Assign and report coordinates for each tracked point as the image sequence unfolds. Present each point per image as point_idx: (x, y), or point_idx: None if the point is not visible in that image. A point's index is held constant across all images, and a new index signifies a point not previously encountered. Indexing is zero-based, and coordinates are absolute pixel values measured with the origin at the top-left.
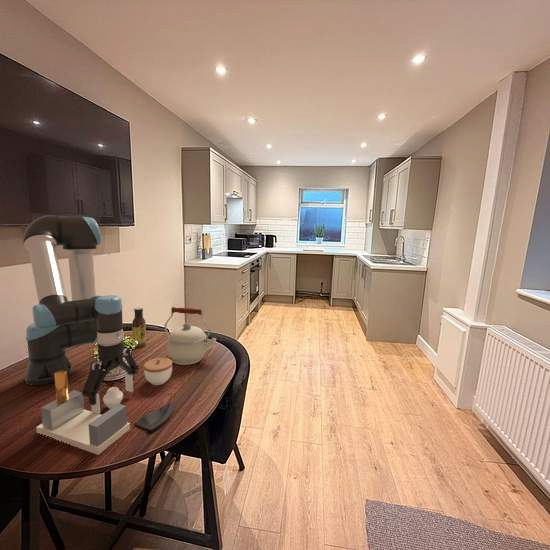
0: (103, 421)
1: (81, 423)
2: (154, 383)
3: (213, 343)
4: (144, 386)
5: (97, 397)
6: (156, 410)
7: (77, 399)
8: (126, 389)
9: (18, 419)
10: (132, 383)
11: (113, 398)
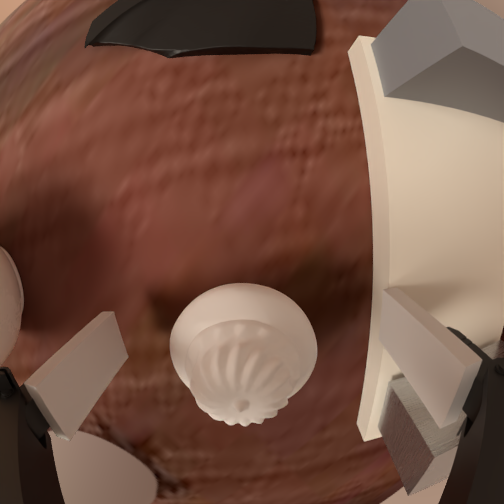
0: None
1: (463, 287)
2: (12, 271)
3: None
4: (48, 314)
5: (463, 346)
6: (162, 43)
7: (458, 424)
8: (122, 356)
9: None
10: (73, 339)
11: (282, 316)
